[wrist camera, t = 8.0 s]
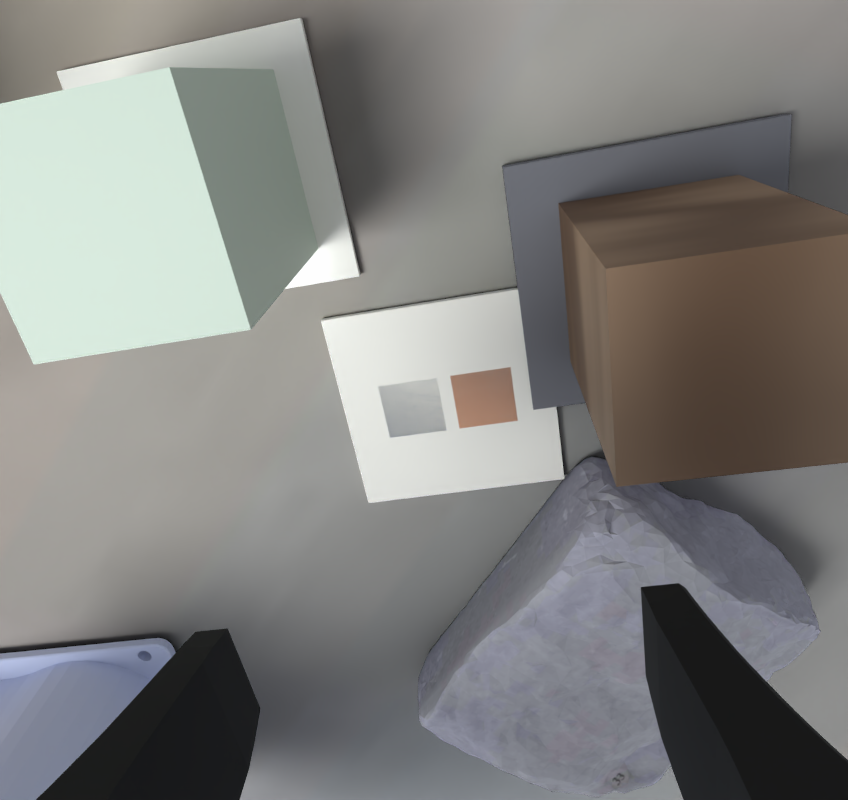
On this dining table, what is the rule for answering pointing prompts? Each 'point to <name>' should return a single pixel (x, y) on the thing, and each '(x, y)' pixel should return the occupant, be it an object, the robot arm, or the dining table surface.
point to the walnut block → (709, 328)
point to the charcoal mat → (600, 176)
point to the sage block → (148, 210)
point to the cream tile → (442, 397)
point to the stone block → (600, 631)
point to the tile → (303, 112)
